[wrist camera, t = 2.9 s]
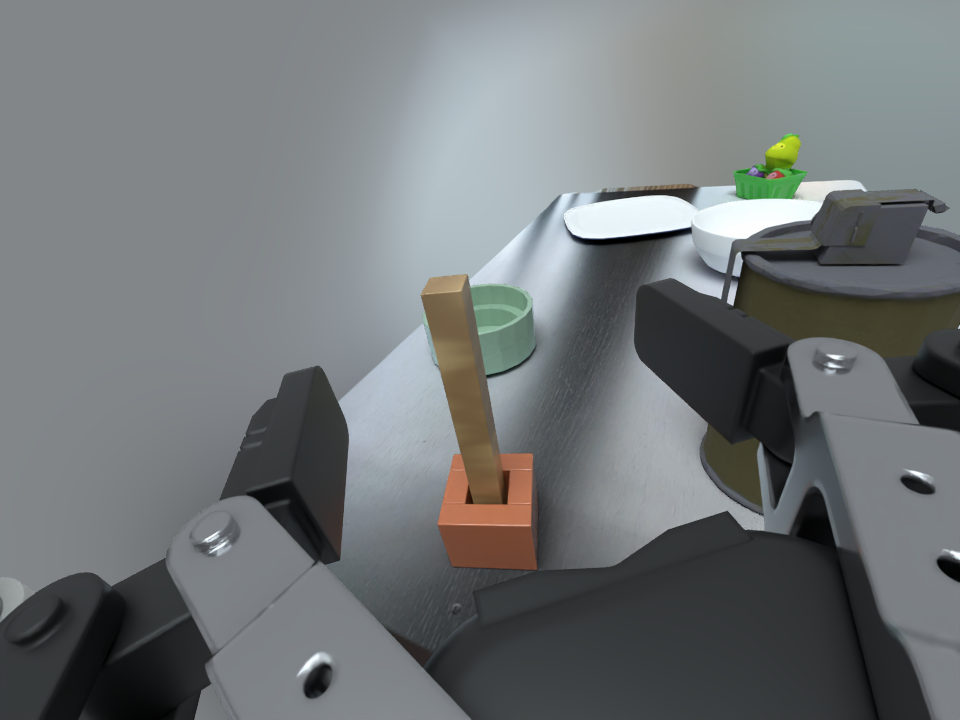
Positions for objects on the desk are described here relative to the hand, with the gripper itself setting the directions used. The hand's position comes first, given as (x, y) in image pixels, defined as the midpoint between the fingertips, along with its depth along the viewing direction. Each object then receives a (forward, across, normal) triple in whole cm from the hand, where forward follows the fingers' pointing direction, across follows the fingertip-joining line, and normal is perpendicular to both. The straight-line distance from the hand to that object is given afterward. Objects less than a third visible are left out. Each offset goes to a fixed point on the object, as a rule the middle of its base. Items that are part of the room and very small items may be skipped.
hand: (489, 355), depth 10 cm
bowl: (+39, -46, +22) cm, 65 cm away
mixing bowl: (+36, -5, +22) cm, 42 cm away
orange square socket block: (+10, 0, +22) cm, 24 cm away
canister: (+9, -22, +22) cm, 32 cm away
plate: (+70, -44, +22) cm, 85 cm away
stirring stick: (+10, 0, +22) cm, 24 cm away
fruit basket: (+66, -72, +22) cm, 100 cm away
